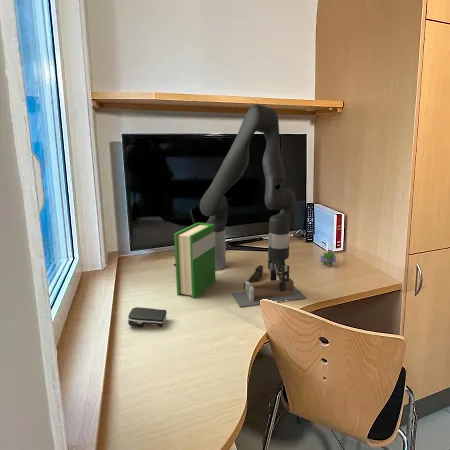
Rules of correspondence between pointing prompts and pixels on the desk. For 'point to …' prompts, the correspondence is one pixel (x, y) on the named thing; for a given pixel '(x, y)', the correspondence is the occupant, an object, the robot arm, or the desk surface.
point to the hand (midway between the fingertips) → (277, 286)
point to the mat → (245, 302)
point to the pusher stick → (267, 289)
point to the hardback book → (195, 258)
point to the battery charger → (146, 317)
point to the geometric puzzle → (328, 258)
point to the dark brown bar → (256, 275)
